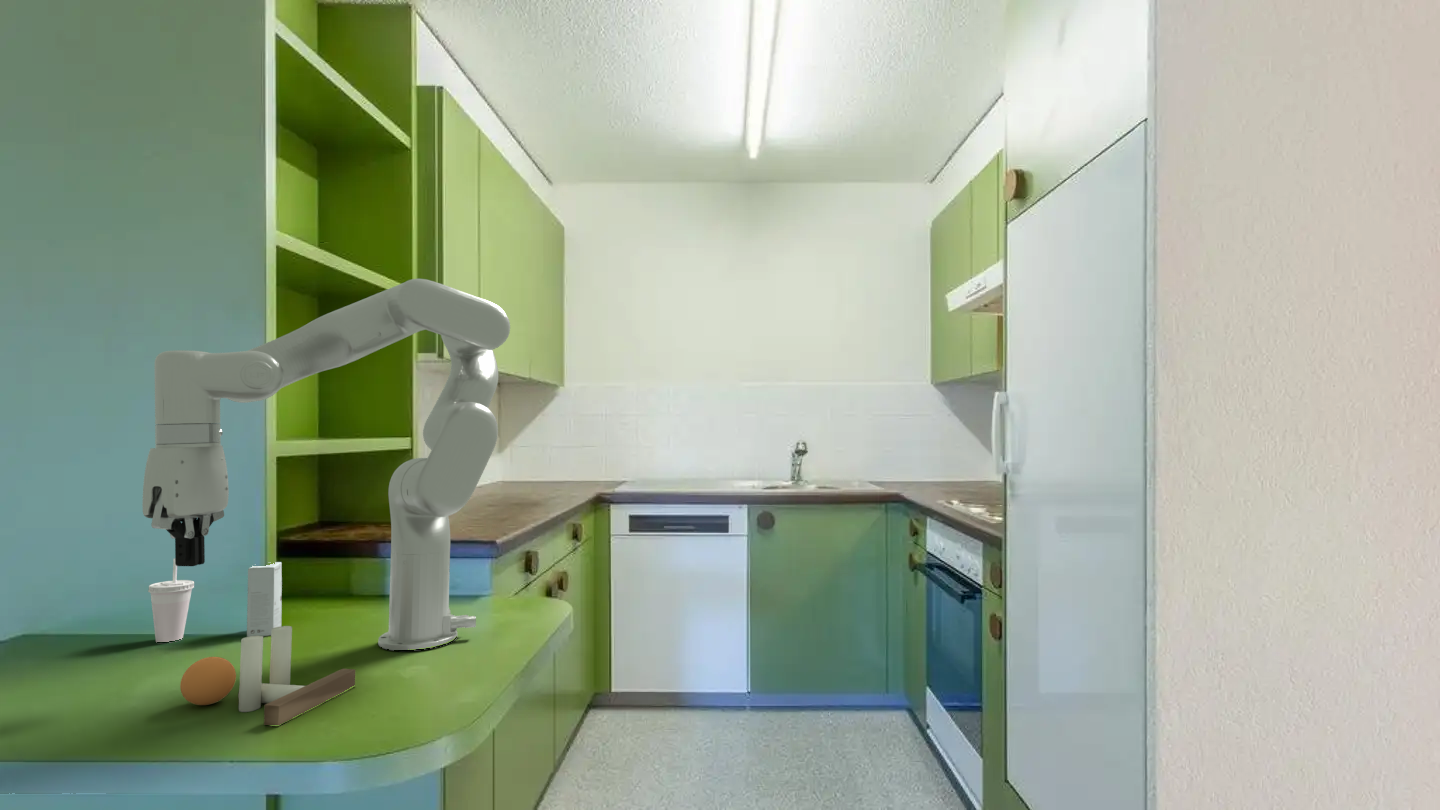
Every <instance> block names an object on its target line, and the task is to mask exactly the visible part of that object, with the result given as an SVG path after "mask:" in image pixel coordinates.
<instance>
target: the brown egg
mask: <svg viewBox="0 0 1440 810" xmlns="http://www.w3.org/2000/svg"><path fill="white" fill-rule="evenodd" d="M236 680H237V673H236V669H235V667H234V665H233V664H232V663H231V662H230V661H229V660H228V659H226V658H224V657H220V656H207V657H204V658H200V659H199V660H197V661H195V662H194V663H192V664H191V665H190V666H189V667H188V668H187V669H185V672H184V673H183V675H182V676H181V679H180V684H179V687H180V693H181V695H182V696H183V698H184V699H185V700H186V701H187V702H188V703H190V704H193V705H196V706H208V705H213V704H215V703H217V702H220V701H221V700H223V699H224V698H226V697H227V696H228V694H229V693H230V692H231V691H232V690H233V687H234V686H235V683H236Z"/></svg>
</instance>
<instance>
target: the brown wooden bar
mask: <svg viewBox="0 0 1440 810" xmlns="http://www.w3.org/2000/svg"><path fill="white" fill-rule="evenodd" d="M354 685H355V686H356V669H353V668H342V669H339V670H336V671H334V672H332V673H330V674H328V675H326V676H324V677H322V678H320V679H317V680H315V681H313V682H311V683H309V684H306V685H303V686H304V687H302V688H300V689H298V690H296V691H294V692H291V693H289V694H287V695H285V696H283V697H281V698H279V699H276V700H274V701H272V702H270V703H265V704H264V706H263V707H264V709H263V711H264V712H263V726H264V725H280V724H282V723H284V722H286V721H288V720H290V719H292V718H293V717H295V716H297V715H299V714H301V713H304V712H305V711H307V710H309V709H311V708H313V707H315V706H317V705H319V704H321V703H323V702H325V701H326V700H328V699H330V698H332V697H334V696H336V695H338V694H340V693H342V692H344V691H345V690H347V689H349V688H350V687H352V686H354ZM304 714H305V713H304Z"/></svg>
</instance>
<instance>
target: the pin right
mask: <svg viewBox="0 0 1440 810" xmlns="http://www.w3.org/2000/svg"><path fill="white" fill-rule="evenodd" d="M292 635H293V626H290V625H283V626H282V625H281V626H280V627H275V628H273V629H272V632H271V635H270V636H271V637H270V638H271V639H270V658H269V659H270V662H269V663H270V664H269V665H270V666H269V684H283V685H291V670H292V669H291V664H292V639H293V638H292Z"/></svg>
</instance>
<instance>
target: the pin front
mask: <svg viewBox="0 0 1440 810" xmlns="http://www.w3.org/2000/svg"><path fill="white" fill-rule="evenodd" d="M304 686H305V685H300V684H299V685H296V684H290V685H283V684H270V683H263V682H262V684H261V704H268V703H270V702H272V701H274V700H276V699H279V698H281V697H283V696H285V695H287V694H289V693H291V692H294V691H296V690H298V689H300V688H302V687H304ZM237 695H238V697H237V698H238V699H239V692H238V694H237Z"/></svg>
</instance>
